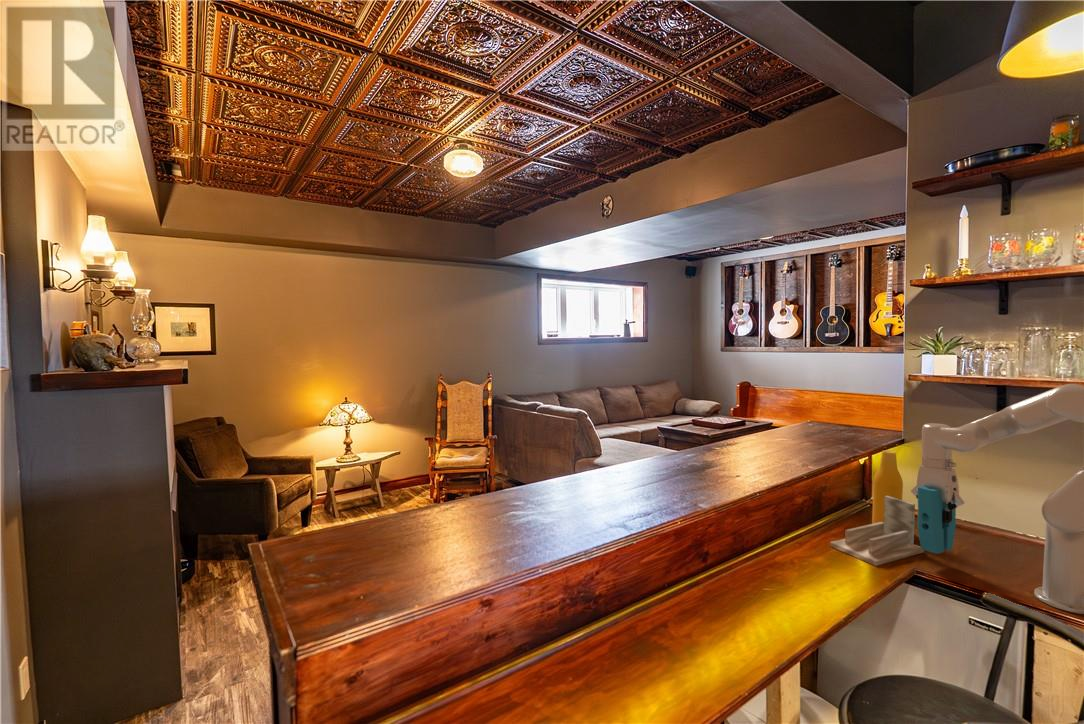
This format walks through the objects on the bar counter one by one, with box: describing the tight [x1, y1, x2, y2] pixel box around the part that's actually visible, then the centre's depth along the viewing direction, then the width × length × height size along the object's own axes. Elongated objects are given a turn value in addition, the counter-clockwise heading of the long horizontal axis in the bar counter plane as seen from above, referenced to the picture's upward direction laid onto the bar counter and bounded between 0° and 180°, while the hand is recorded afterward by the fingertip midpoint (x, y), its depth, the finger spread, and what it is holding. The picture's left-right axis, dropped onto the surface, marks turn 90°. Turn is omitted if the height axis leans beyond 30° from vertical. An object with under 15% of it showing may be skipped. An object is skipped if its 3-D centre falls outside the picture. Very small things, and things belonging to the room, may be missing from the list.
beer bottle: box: [871, 450, 904, 524], centre depth 191 cm, size 9×9×29 cm
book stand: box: [829, 496, 925, 567], centre depth 172 cm, size 16×24×16 cm, turn 112°
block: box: [917, 486, 957, 555], centre depth 161 cm, size 12×5×20 cm, turn 113°
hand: (936, 519), depth 161 cm, fingers closed on block, 5 cm apart
